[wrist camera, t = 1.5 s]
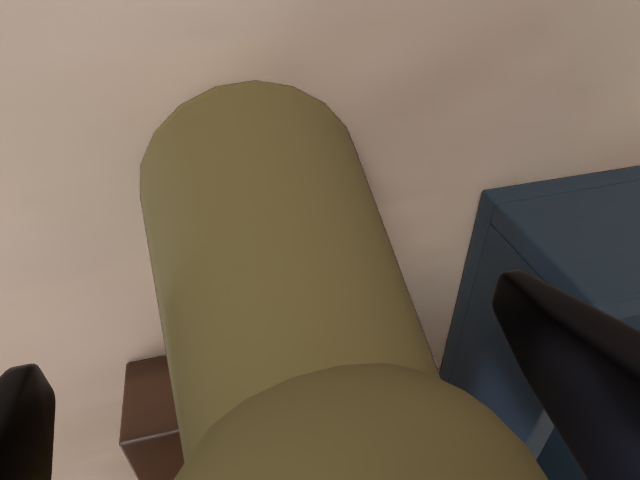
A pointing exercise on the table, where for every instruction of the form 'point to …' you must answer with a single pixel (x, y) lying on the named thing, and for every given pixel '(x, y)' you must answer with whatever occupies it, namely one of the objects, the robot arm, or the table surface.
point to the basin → (553, 268)
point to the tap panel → (150, 421)
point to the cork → (296, 307)
